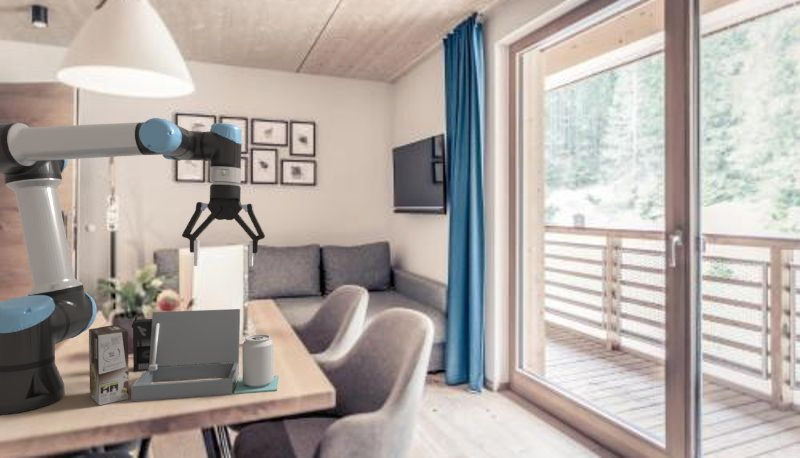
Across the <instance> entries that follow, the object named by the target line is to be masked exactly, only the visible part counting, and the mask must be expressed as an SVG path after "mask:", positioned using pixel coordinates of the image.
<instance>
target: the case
mask: <svg viewBox="0 0 800 458" xmlns="http://www.w3.org/2000/svg"><path fill="white" fill-rule="evenodd" d="M151 319H152V331H151V346H150V362H149V368H148V369H147V370H146V371H144V372H143V374H142V375H140V377H138V379H137V380H136V381H134V383H133V384H132V385H131V402H139V401H140V402H141V401H153V400H168V399H170V400H171V399H182V398H183V399H184V398H196V397H197V398H198V397H208V396H209V397H211V396H222V395H224V396H225V395H232V394H234V391H235V388H236V385H237V382H238V379H239V374H240V365H239V364H240V340H241V339H240V333H241V332H240V331H241V328H240V327H241V309H240V308H236V309H235V308H232V309H205V310H204V309H202V310H201V309H200V310H179V311H176V310H175V311H153V312H152V317H151ZM210 363H211V364H210ZM158 366H159V367H158ZM227 377H228V378H227ZM211 378H213V379H211ZM215 378H216V379H215ZM195 379H196V380H195ZM198 379H201V380H198ZM180 380H182V381H180ZM183 380H185V381H183ZM186 380H187V381H186ZM163 381H164V382H163ZM165 381H166V382H165ZM167 381H168V382H167ZM169 381H172V382H169ZM153 382H154V383H153ZM155 382H157V383H155Z"/></svg>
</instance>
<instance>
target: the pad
mask: <svg viewBox="0 0 800 458" xmlns="http://www.w3.org/2000/svg"><path fill="white" fill-rule="evenodd" d="M278 384H279V375H273V380H272V381H271V382H270V384H269V385H267V386H264V387H258V388H252V387H248V386H246V385H245V384H244V383H243V377H238V379H237V382H236V384H235V387H234V390H233V394H234V395H235V394H237V395H239V394H251V393H265V392H266V393H268V392H276V391H278V387H279V386H278Z"/></svg>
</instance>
